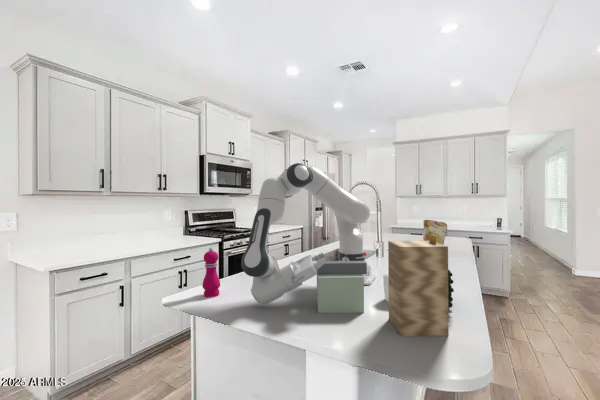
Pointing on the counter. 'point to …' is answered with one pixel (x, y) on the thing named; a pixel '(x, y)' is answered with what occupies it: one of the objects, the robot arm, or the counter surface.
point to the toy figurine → (450, 289)
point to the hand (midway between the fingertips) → (324, 257)
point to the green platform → (340, 293)
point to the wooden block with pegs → (418, 287)
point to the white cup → (386, 286)
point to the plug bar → (342, 267)
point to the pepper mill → (211, 274)
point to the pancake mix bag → (435, 230)
